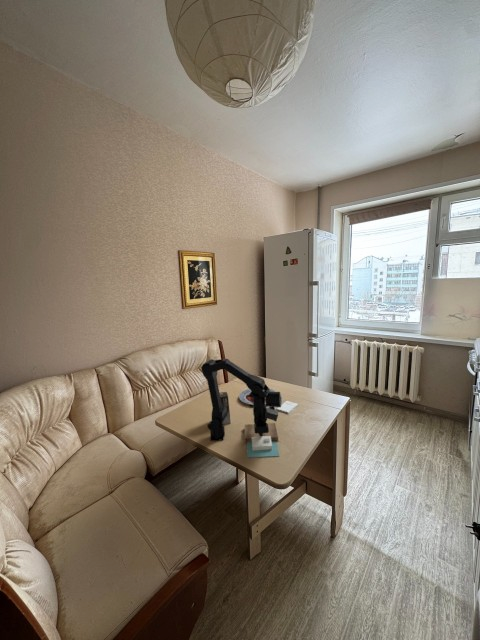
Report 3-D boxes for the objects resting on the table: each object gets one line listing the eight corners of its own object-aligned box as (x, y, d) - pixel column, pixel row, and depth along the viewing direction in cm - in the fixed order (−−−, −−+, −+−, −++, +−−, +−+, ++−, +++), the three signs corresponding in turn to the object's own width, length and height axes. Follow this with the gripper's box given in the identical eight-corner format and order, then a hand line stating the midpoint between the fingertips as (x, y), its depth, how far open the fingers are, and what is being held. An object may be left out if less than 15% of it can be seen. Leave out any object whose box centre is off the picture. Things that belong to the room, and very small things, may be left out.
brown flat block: (245, 442, 117) (244, 438, 116) (245, 428, 129) (244, 424, 128) (278, 441, 116) (278, 436, 116) (275, 427, 128) (275, 423, 128)
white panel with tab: (252, 450, 110) (252, 445, 110) (251, 440, 116) (251, 435, 115) (272, 449, 110) (272, 444, 110) (270, 439, 116) (270, 434, 115)
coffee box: (229, 417, 141) (227, 391, 139) (230, 423, 134) (228, 396, 132) (213, 419, 139) (211, 393, 137) (214, 425, 133) (211, 398, 131)
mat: (247, 457, 106) (247, 457, 106) (247, 443, 116) (247, 442, 116) (279, 456, 106) (279, 455, 106) (276, 441, 116) (276, 441, 116)
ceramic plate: (244, 410, 148) (244, 406, 147) (235, 393, 173) (235, 389, 172) (284, 403, 153) (283, 399, 153) (269, 388, 178) (269, 384, 178)
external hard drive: (276, 411, 146) (286, 402, 155) (288, 414, 140) (298, 406, 150) (276, 408, 145) (286, 400, 155) (288, 412, 140) (298, 403, 149)
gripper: (279, 414, 104) (281, 447, 106) (274, 395, 123) (275, 424, 125) (253, 415, 105) (255, 449, 107) (252, 396, 123) (254, 425, 125)
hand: (261, 435), depth 116 cm, fingers closed
